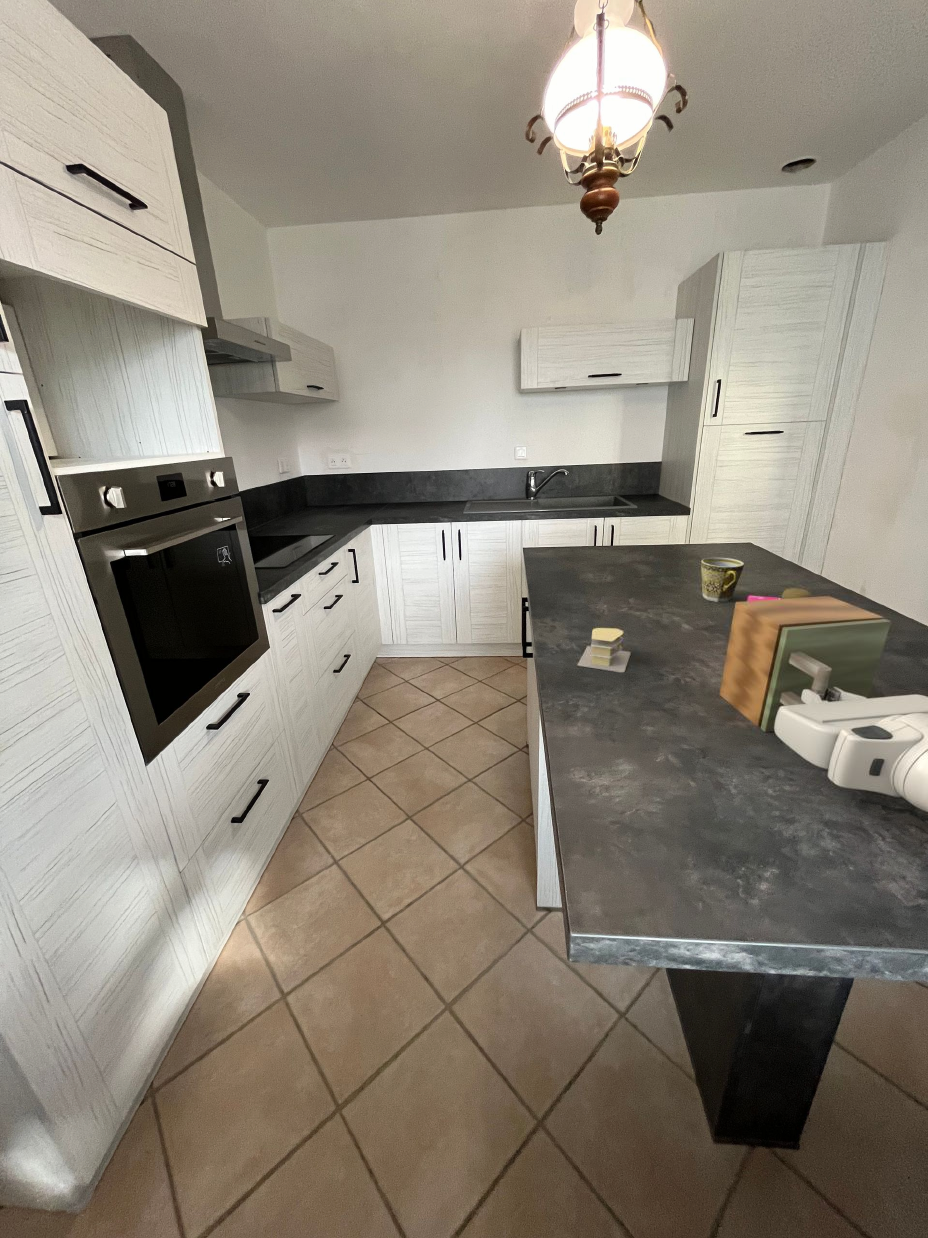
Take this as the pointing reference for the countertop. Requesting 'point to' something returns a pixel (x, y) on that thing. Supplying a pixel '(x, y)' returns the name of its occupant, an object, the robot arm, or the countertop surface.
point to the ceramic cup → (720, 578)
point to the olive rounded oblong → (795, 593)
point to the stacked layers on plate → (605, 651)
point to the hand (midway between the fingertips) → (817, 692)
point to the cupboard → (771, 644)
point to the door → (824, 662)
